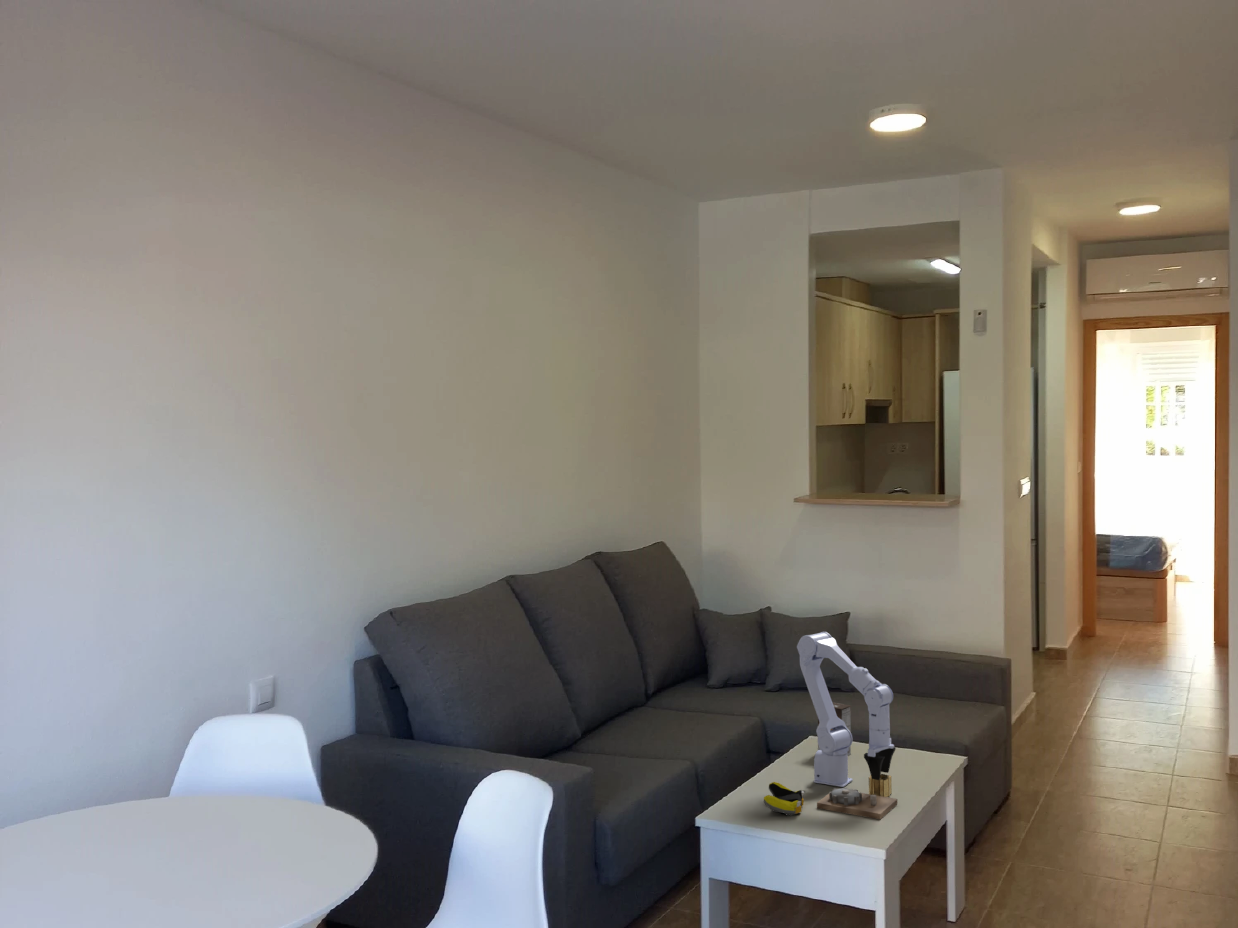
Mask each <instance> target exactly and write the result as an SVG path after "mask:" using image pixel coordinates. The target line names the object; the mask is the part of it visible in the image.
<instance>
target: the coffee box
mask: <svg viewBox="0 0 1238 928" xmlns="http://www.w3.org/2000/svg"><path fill="white" fill-rule="evenodd" d="M832 703H833V706H834V709H835V712H836V714H837V717H838V718H840V719H841V720H842V721H844V722H845V725H846V727H847V728H848V730H849V731H850V732H852V728H851V721H852V720H851V717H852V716H851V715H852V713H851V712H852V709H851V707H852V706H851V705H849V704H844V703H840V702H834V701H832ZM819 723H820V722H819V719H818V718H817V726H818V725H819ZM831 730H833V729H831ZM831 730H830V731H831ZM851 746H852V745H851ZM851 746H850V747H849V751H848V756H850V755H851V753H852V750H851V749H852V748H851ZM818 750H820V748H819V746H818V745H817V751H818Z"/></svg>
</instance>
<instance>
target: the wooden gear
mask: <svg viewBox="0 0 1238 928" xmlns="http://www.w3.org/2000/svg"><path fill="white" fill-rule="evenodd" d="M868 794H871V795H877V796H883V797H890V796H891V795H890V794H892V776H891V775H890V774H889V775H888V774H885V773H884V774H883V773H881V775H880V779H879V780H875V779H872V778H871V774H870V775H869V777H868Z"/></svg>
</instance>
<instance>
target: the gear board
mask: <svg viewBox="0 0 1238 928" xmlns="http://www.w3.org/2000/svg"><path fill="white" fill-rule="evenodd" d="M897 805H898V798H894V797H890V796H888V797H883V796H877V795H871V794H869V793H864V792H859V790H858V789H852V788H847V787H841V788H832V790H831V791H829V792H828V794H826V795H825V796H824V797H823V798H821V799H820V800H819V801H817V802H816V808H817V809H820V810H827V811H831V812H837V813H842V814H843V813H844V814H849V815H854V816H858V817H865V818H871V819H876V820H882V819H883V818H884V817H885V816H886V815H888V813H890V811H891V810H893V809H894V808H895V807H896V806H897Z"/></svg>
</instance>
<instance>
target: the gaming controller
mask: <svg viewBox="0 0 1238 928" xmlns="http://www.w3.org/2000/svg"><path fill="white" fill-rule="evenodd" d="M768 790H769V792H770V793H771V795H770V794H768V795H767V794H766V795H765V796H764V797H763V803H764V804H765V805H766V807H767V808H768V809H770V810H772V811H773V812H775V813H782V814H785V815H786V814H787V815H786V816H789V815H790V816H794V815H798V814H799V813H802V806H803V807H804V801H805V800H804V795H805V794H804V793H805V791H803V790H802V789H801V790H796V791H795V790H794V791H793V790H791V789H790V788H788V787H786V786H785V785H784V784H781V783H780V782H777V781H773V782H771V783H769V785H768Z"/></svg>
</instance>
